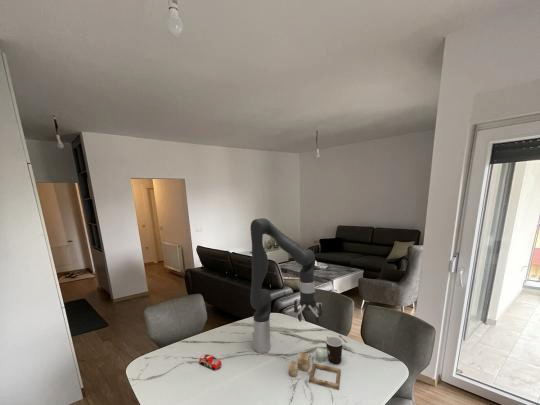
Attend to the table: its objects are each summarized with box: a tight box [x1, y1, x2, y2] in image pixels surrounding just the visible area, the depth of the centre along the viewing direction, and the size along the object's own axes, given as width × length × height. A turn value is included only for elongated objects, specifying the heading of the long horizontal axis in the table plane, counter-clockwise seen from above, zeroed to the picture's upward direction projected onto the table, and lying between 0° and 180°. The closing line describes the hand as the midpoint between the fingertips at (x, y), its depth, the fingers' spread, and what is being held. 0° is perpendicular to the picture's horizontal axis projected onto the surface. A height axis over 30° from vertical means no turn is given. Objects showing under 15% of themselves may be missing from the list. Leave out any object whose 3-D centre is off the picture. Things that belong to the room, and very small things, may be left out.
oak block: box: [297, 352, 311, 373], centre depth 117 cm, size 5×5×6 cm
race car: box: [198, 353, 222, 371], centre depth 122 cm, size 13×5×4 cm, turn 60°
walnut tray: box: [308, 362, 342, 391], centre depth 111 cm, size 14×12×2 cm
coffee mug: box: [325, 336, 344, 366], centre depth 124 cm, size 12×9×10 cm
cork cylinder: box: [288, 360, 298, 378], centre depth 113 cm, size 4×4×5 cm
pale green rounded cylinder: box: [315, 347, 325, 363], centre depth 123 cm, size 4×4×5 cm
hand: (308, 322), depth 117 cm, fingers open, 8 cm apart
